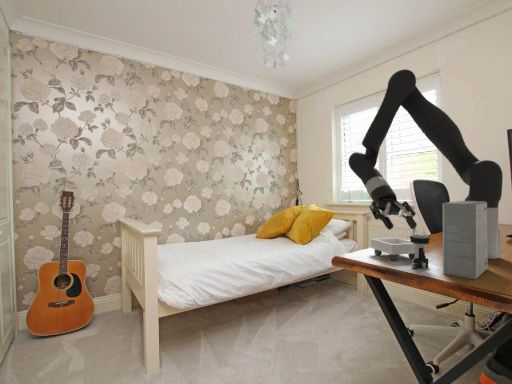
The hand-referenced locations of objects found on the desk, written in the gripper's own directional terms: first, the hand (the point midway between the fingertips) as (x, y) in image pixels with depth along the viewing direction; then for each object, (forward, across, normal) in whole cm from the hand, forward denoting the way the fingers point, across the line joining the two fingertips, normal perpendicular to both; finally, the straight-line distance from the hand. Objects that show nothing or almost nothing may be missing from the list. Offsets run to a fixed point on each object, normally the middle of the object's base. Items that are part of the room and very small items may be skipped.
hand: (403, 227), depth 90 cm
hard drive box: (+17, +10, -1) cm, 20 cm away
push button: (+12, 0, +4) cm, 13 cm away
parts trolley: (+3, +2, +12) cm, 13 cm away
